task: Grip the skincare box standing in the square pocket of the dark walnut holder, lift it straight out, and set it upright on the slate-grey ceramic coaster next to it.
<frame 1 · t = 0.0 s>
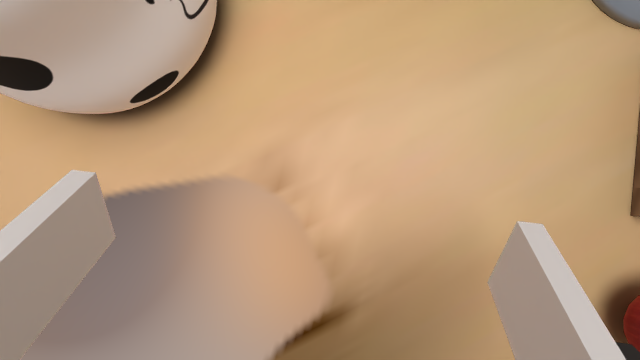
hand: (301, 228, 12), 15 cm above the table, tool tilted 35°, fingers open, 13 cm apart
milk container: (118, 11, 29), on the table
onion: (634, 314, 27), on the table
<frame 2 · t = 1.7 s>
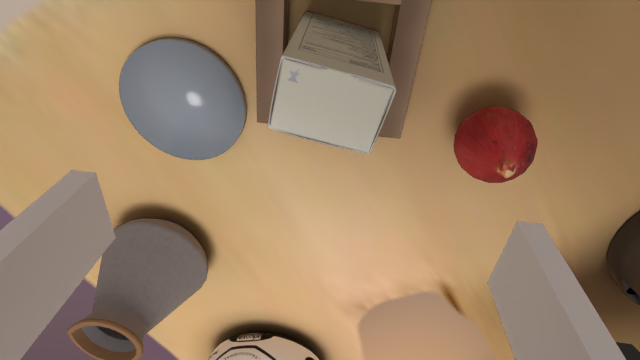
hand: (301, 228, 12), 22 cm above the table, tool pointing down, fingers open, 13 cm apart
coaster: (186, 101, 34), on the table
pocket holder: (337, 48, 30), on the table
milk container: (270, 355, 56), on the table
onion: (480, 123, 33), on the table
coffee pot: (161, 268, 47), on the table
skincare box: (337, 48, 30), resting in pocket holder
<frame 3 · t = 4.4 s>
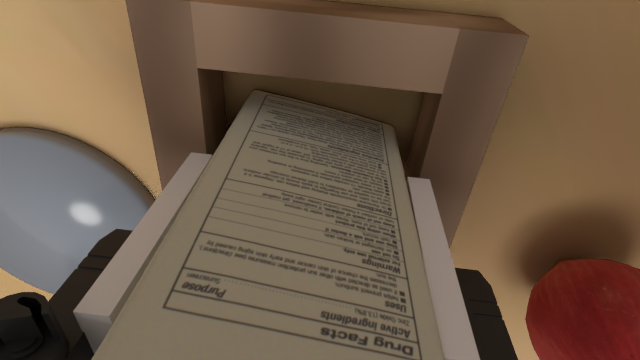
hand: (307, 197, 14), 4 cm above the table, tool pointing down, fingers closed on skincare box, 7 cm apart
coaster: (68, 220, 20), on the table
pocket holder: (316, 150, 17), on the table
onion: (563, 261, 19), on the table
skincare box: (317, 147, 17), resting in pocket holder, touching gripper
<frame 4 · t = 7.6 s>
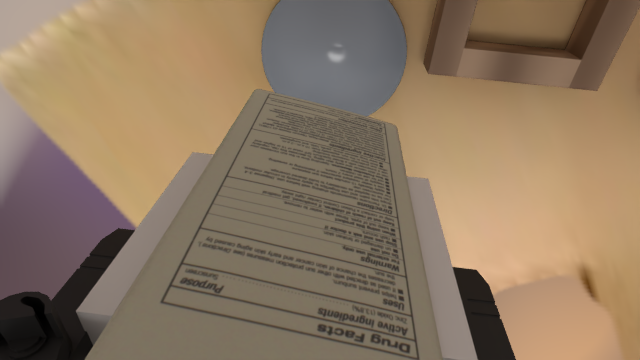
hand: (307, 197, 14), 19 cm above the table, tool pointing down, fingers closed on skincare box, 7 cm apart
coaster: (333, 54, 29), on the table
skincare box: (319, 147, 17), point 15 cm above the table, touching gripper
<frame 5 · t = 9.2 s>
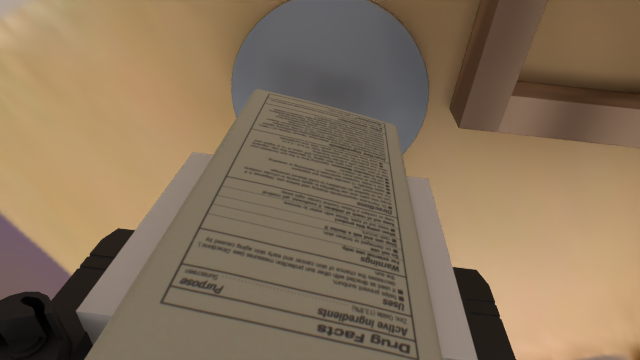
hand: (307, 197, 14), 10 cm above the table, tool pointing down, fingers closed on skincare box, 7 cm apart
coaster: (329, 95, 22), on the table
pocket holder: (607, 7, 18), on the table
skincare box: (319, 147, 17), point 6 cm above the table, touching gripper
when the fingers open (5 cm above the table, at t = 10.9 s): skincare box stays where it is, resting on coaster.
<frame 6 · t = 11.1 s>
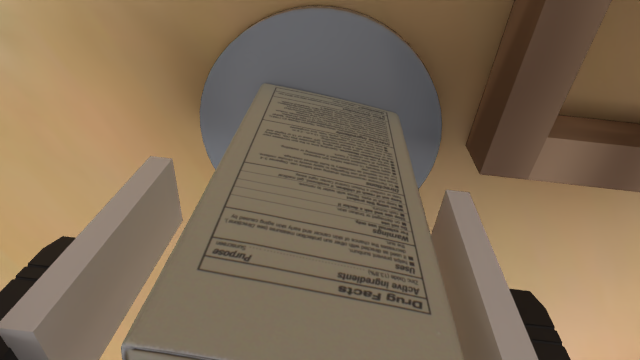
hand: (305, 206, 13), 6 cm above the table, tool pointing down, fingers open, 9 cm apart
coaster: (320, 129, 18), on the table
skincare box: (325, 137, 17), point 1 cm above the table, touching coaster
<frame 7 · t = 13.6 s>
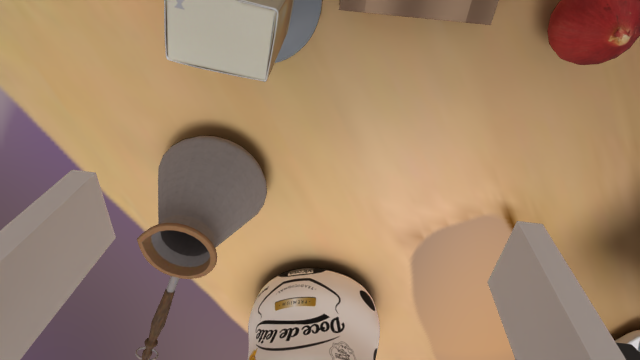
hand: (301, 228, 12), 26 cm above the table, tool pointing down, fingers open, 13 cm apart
milk container: (316, 297, 54), on the table
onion: (568, 13, 31), on the table
coffee pot: (210, 200, 45), on the table
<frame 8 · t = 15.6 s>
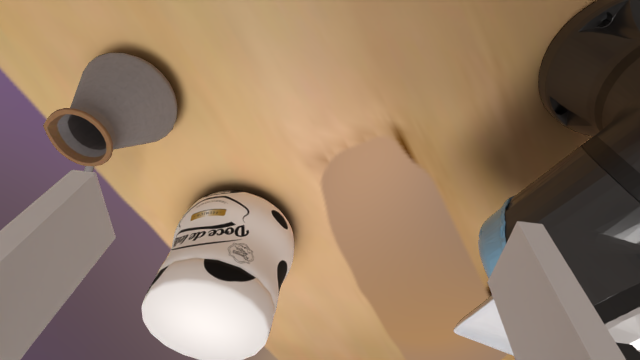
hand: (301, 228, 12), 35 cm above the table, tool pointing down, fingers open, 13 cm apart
milk container: (243, 225, 59), on the table
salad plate: (537, 302, 64), on the table
coffee pot: (136, 123, 51), on the table
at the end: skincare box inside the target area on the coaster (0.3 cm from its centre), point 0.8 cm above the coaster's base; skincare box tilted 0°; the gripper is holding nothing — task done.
